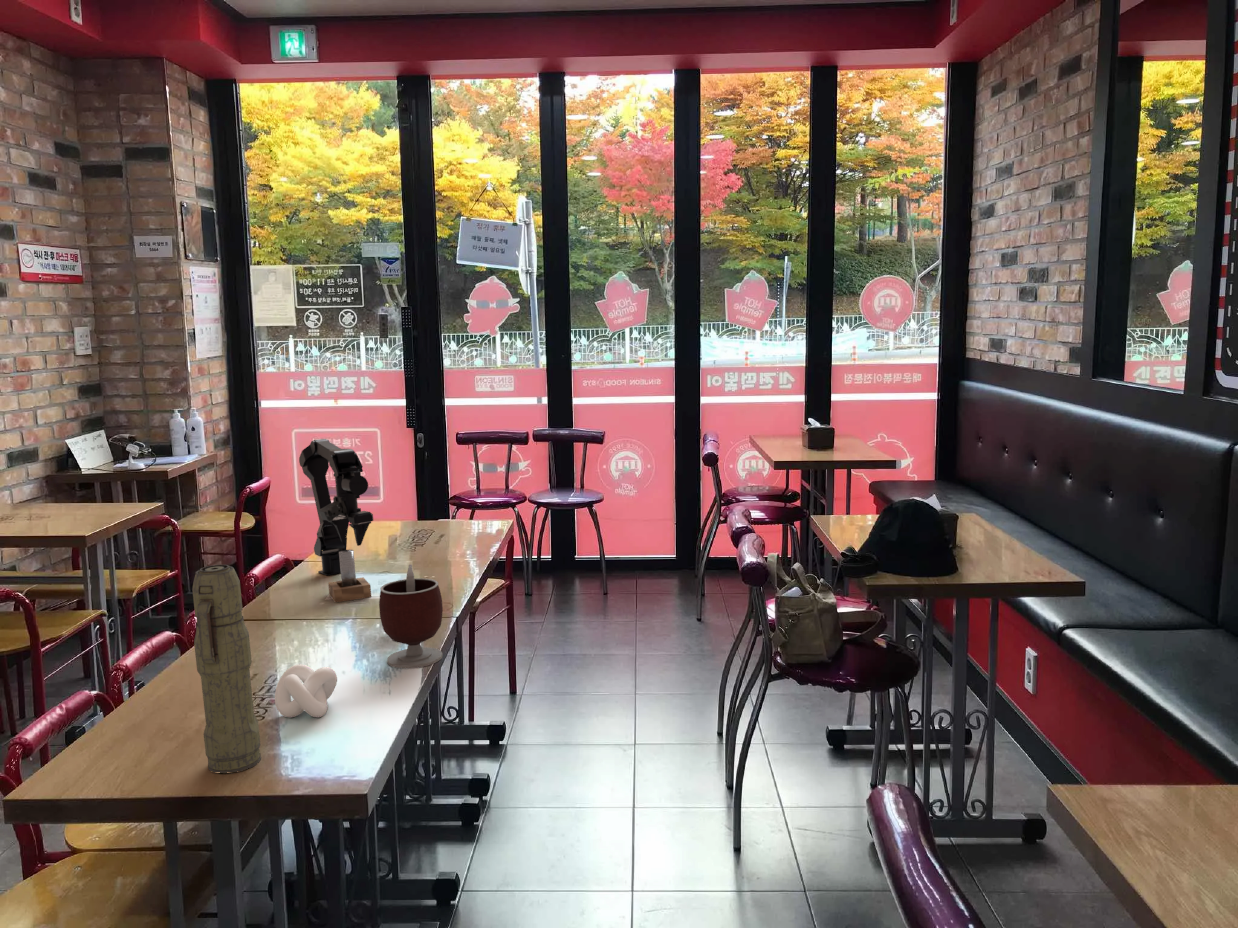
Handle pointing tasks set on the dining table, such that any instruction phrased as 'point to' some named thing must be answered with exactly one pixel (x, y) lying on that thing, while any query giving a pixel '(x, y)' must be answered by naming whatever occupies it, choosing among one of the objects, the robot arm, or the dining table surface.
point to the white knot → (305, 690)
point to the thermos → (225, 671)
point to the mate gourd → (411, 619)
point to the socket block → (349, 590)
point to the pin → (347, 568)
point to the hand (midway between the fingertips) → (351, 543)
